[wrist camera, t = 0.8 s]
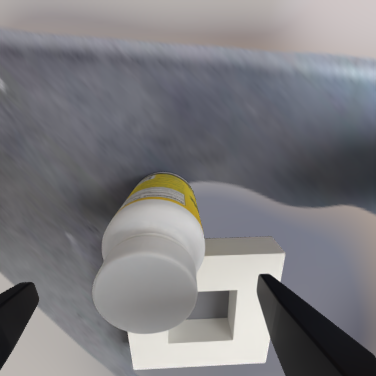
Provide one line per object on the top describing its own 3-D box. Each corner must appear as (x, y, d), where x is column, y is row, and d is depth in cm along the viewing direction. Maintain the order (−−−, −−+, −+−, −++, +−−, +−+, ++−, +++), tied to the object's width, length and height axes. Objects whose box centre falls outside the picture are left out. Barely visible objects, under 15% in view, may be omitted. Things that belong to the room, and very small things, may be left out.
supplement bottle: (189, 231, 17) (199, 353, 8) (131, 223, 17) (69, 342, 8) (201, 175, 16) (231, 248, 6) (136, 165, 15) (66, 225, 6)
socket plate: (271, 236, 18) (288, 256, 15) (256, 337, 22) (267, 367, 19) (124, 241, 17) (113, 262, 15) (138, 343, 22) (132, 374, 19)
